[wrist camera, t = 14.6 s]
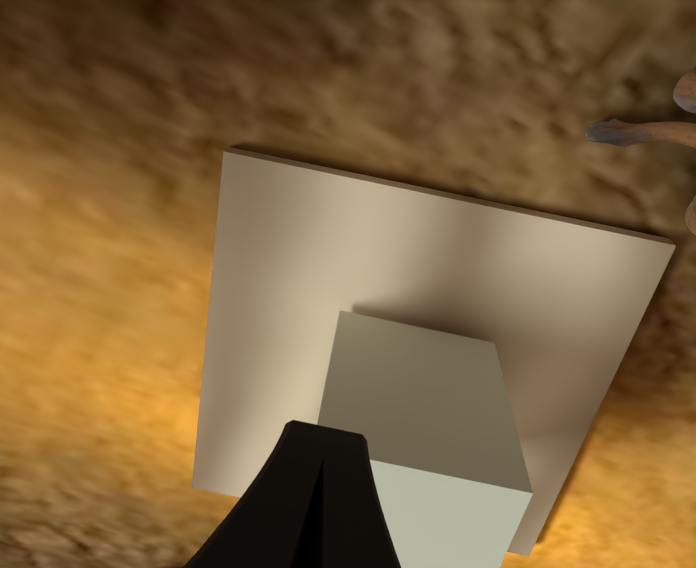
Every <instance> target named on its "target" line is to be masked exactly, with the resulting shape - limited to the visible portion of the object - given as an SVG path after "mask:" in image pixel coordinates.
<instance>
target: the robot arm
mask: <svg viewBox="0 0 696 568" xmlns="http://www.w3.org/2000/svg"><path fill="white" fill-rule="evenodd" d="M183 568H401V565H400V562H399V560H398V557H397V554H396V551H395V548H394V545H393V542H392V539H391V536H390V533H389V530H388V527H387V524H386V521H385V518H384V514H383V511H382V508H381V504H380V501H379V497H378V493H377V489H376V485H375V481H374V477H373V473H372V468H371V463H370V458H369V452H368V444H367V440H366V439H365V437H364V436H363V434H359V433H354V432H349V431H344V430H340V429H335V428H330V427H325V426H321V425H316V424H311V423H306V422H302V421H297V420H292V421H290V422H288V423H286V424H285V426H284V429H283V431H282V434H281V436H280V438H279V440H278V442H277V444H276V445H275V447H274V449H273V451H272V452H271V454H270V456H269V457H268V459H267V461H266V462H265V464H264V465H263V467H262V468H261V470H260V471H259V473H258V475H257V476H256V477H255V479H254V480H253V482H252V483H251V484H250V486H249V487H248V488H247V490H246V491H245V493H244V494H243V495H242V497H241V498H240V500H239V501H238V502H237V504H236V505H235V506H234V508H233V509H232V510H231V512H230V513H229V514H228V515H227V517H226V518H225V519H224V520H223V521H222V523H221V524H220V525H219V526H218V527H217V529H216V530H215V531H214V532H213V533H212V535H211V536H210V537H209V538H208V540H207V541H206V542H205V543H204V544H203V546H202V547H201V548H200V549H199V550H198V551H197V553H196V554H195V555H194V556H193V557H192V558H191V559H190V560H189V561H188V563H187V564H186V565H185V566H184V567H183Z"/></svg>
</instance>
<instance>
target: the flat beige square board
mask: <svg viewBox="0 0 696 568" xmlns="http://www.w3.org/2000/svg"><path fill="white" fill-rule="evenodd" d="M675 247H676V245H675V244H674V243H673V242H672V241H671V240H670V239H669V238H665V237H660V236H655V235H651V234H646V233H641V232H636V231H631V230H627V229H622V228H617V227H612V226H607V225H603V224H598V223H593V222H588V221H583V220H578V219H574V218H569V217H564V216H559V215H554V214H550V213H545V212H540V211H535V210H530V209H526V208H521V207H516V206H511V205H506V204H502V203H497V202H492V201H487V200H482V199H477V198H473V197H468V196H463V195H458V194H453V193H449V192H444V191H439V190H434V189H429V188H425V187H420V186H415V185H410V184H405V183H401V182H396V181H391V180H386V179H381V178H376V177H372V176H367V175H362V174H357V173H352V172H348V171H343V170H338V169H333V168H328V167H324V166H319V165H314V164H309V163H304V162H299V161H295V160H290V159H285V158H280V157H275V156H271V155H266V154H261V153H256V152H251V151H247V150H242V149H237V148H232V147H228V148H227V149H226V150H224V151H223V161H222V171H221V182H220V193H219V204H218V214H217V225H216V236H215V246H214V257H213V268H212V278H211V289H210V300H209V310H208V321H207V332H206V342H205V353H204V364H203V374H202V385H201V396H200V407H199V417H198V428H197V439H196V449H195V460H194V471H193V481H192V488H197V489H202V490H207V491H211V492H216V493H221V494H226V495H231V496H236V497H242V495H243V494H244V493H245V491H246V490H247V488H248V487H249V486H250V484H251V483H252V482H253V480H254V479H255V477H256V476H257V475H258V473H259V471H260V470H261V468H262V467H263V465H264V464H265V462H266V461H267V459H268V457H269V456H270V454H271V452H272V451H273V449H274V447H275V445H276V444H277V442H278V440H279V438H280V436H281V434H282V431H283V429H284V426H285V424H286V423H288V422H290V421H292V420H297V421H302V422H306V423H311V424H316V420H317V415H318V411H319V406H320V401H321V397H322V392H323V387H324V383H325V378H326V373H327V368H328V364H329V359H330V354H331V350H332V345H333V340H334V336H335V331H336V326H337V322H338V317H339V312H340V310H341V311H346V312H350V313H355V314H360V315H365V316H369V317H374V318H379V319H384V320H388V321H393V322H398V323H403V324H407V325H412V326H417V327H422V328H426V329H431V330H436V331H441V332H446V333H450V334H455V335H460V336H465V337H469V338H474V339H479V340H484V341H488V342H493V343H495V347H496V351H497V354H498V358H499V362H500V366H501V370H502V374H503V378H504V382H505V386H506V390H507V394H508V397H509V401H510V405H511V409H512V413H513V417H514V421H515V425H516V429H517V433H518V436H519V440H520V444H521V448H522V452H523V456H524V460H525V464H526V468H527V472H528V476H529V479H530V483H531V487H532V491H533V495H532V497H531V499H530V501H529V504H528V506H527V508H526V510H525V512H524V515H523V517H522V519H521V521H520V523H519V526H518V528H517V530H516V532H515V534H514V537H513V539H512V541H511V543H510V545H509V548H508V550H507V552H511V553H516V554H521V555H526V556H529V555H530V553H531V551H532V549H533V547H534V544H535V542H536V540H537V538H538V536H539V534H540V532H541V530H542V528H543V525H544V523H545V521H546V519H547V517H548V515H549V513H550V511H551V509H552V506H553V504H554V502H555V500H556V498H557V496H558V494H559V492H560V490H561V488H562V485H563V483H564V481H565V479H566V477H567V475H568V473H569V471H570V469H571V466H572V464H573V462H574V460H575V458H576V456H577V454H578V452H579V450H580V447H581V445H582V443H583V441H584V439H585V437H586V435H587V433H588V431H589V428H590V426H591V424H592V422H593V420H594V418H595V416H596V414H597V412H598V410H599V407H600V405H601V403H602V401H603V399H604V397H605V395H606V393H607V391H608V388H609V386H610V384H611V382H612V380H613V378H614V376H615V374H616V372H617V369H618V367H619V365H620V363H621V361H622V359H623V357H624V355H625V353H626V350H627V348H628V346H629V344H630V342H631V340H632V338H633V336H634V334H635V331H636V329H637V327H638V325H639V323H640V321H641V319H642V317H643V315H644V313H645V310H646V308H647V306H648V304H649V302H650V300H651V298H652V296H653V294H654V291H655V289H656V287H657V285H658V283H659V281H660V279H661V277H662V275H663V272H664V270H665V268H666V266H667V264H668V262H669V260H670V258H671V256H672V253H673V251H674V249H675Z"/></svg>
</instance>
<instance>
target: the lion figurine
mask: <svg viewBox="0 0 696 568" xmlns="http://www.w3.org/2000/svg"><path fill="white" fill-rule="evenodd" d="M673 97H674V100H675V102H676V103H677V104H678V105H679V106H680V107H681V108H683V109H684V110H686V111H688V112H691V113H696V69H692V70H690V71H689V72H687V73H685V74H684V75H683V76H682V77H681V78H680V80H679V81H678V83H677V85H676V87H675V89H674V92H673ZM585 135H586V138H587V139H588V140H590V141H593V142H600V143H609V144H613V145H617V146H625V147H626V146H630V145H633V144H637V143H643V142H673V143H678V144H682V145H686V146H689V147H692V148H695V149H696V123H689V122H649V123H642V124H635V123H627V122H623V121H620V120H618V119H612V120H610V121H606V122H597V123H594V124H592V125H591V126H589V127H588V128H587V131H586V134H585ZM685 222H686V225H687V227H688V229H689V230H690V231H691V232H692V233H693V234H694V235H696V195H695V197H694V198H693V201H692V202H691V204H690V205H689V206H688V208H687V210H686V212H685Z"/></svg>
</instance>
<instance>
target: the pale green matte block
mask: <svg viewBox="0 0 696 568" xmlns="http://www.w3.org/2000/svg"><path fill="white" fill-rule="evenodd" d="M316 425H321V426H325V427H330V428H335V429H340V430H344V431H349V432H354V433H359V434H363V436H364V437H365V439H366V440H367V444H368V452H369V458H370V463H371V468H372V473H373V477H374V481H375V485H376V489H377V493H378V497H379V501H380V504H381V508H382V511H383V514H384V518H385V521H386V524H387V527H388V530H389V533H390V536H391V539H392V542H393V545H394V548H395V551H396V554H397V557H398V560H399V562H400V565H401V568H499V567H500V565H501V563H502V561H503V559H504V556H505V554H506V552H507V550H508V548H509V545H510V543H511V541H512V539H513V537H514V534H515V532H516V530H517V528H518V526H519V523H520V521H521V519H522V517H523V515H524V512H525V510H526V508H527V506H528V504H529V501H530V499H531V497H532V495H533V491H532V487H531V483H530V479H529V476H528V472H527V468H526V464H525V460H524V456H523V452H522V448H521V444H520V440H519V436H518V433H517V429H516V425H515V421H514V417H513V413H512V409H511V405H510V401H509V397H508V394H507V390H506V386H505V382H504V378H503V374H502V370H501V366H500V362H499V358H498V354H497V351H496V347H495V343H493V342H488V341H484V340H479V339H474V338H469V337H465V336H460V335H455V334H450V333H446V332H441V331H436V330H431V329H426V328H422V327H417V326H412V325H407V324H403V323H398V322H393V321H388V320H384V319H379V318H374V317H369V316H365V315H360V314H355V313H350V312H346V311H341V310H340V312H339V317H338V322H337V326H336V331H335V336H334V340H333V345H332V350H331V354H330V359H329V364H328V368H327V373H326V378H325V383H324V387H323V392H322V397H321V401H320V406H319V411H318V415H317V420H316Z"/></svg>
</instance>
